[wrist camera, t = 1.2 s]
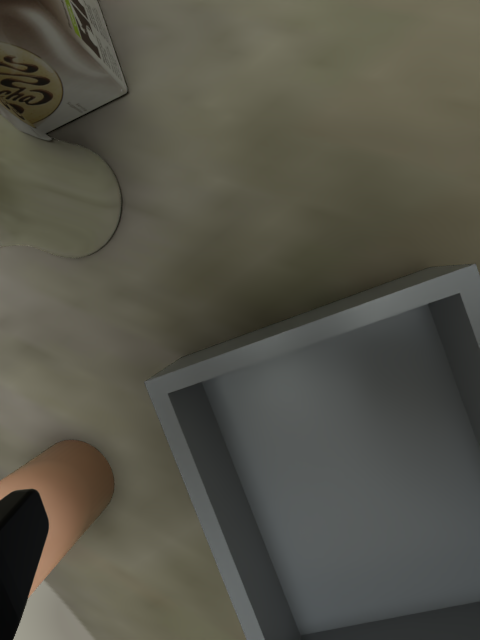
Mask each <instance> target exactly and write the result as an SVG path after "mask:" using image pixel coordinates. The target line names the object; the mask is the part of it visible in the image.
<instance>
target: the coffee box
mask: <svg viewBox="0 0 480 640" xmlns="http://www.w3.org/2000/svg"><path fill="white" fill-rule="evenodd" d="M126 93H127V86H126V83H125V80H124V77H123V74H122V71H121V68H120V65H119V62H118V60H117V57H116V53H115V50H114V47H113V44H112V42H111V39H110V36H109V33H108V30H107V27H106V24H105V21H104V18H103V15H102V12H101V9H100V7H99V4H98V1H97V0H0V96H1V97H2V98H3V99H4V100H5V101H7V102H8V103H9V104H10V105H11V106H12V107H13V108H14V109H16V110H17V111H18V112H19V113H20V114H21V115H22V116H23V117H24V118H26V119H27V120H28V121H29V122H30V123H31V124H33V125H34V126H35V127H36V128H37V129H39V130H40V131H42V132H43V133H45V134H46V133H48V132H50V131H52V130H54V129H56V128H58V127H60V126H62V125H64V124H66V123H68V122H70V121H72V120H74V119H76V118H78V117H80V116H82V115H84V114H86V113H88V112H90V111H92V110H94V109H96V108H98V107H100V106H102V105H104V104H106V103H108V102H110V101H112V100H114V99H116V98H118V97H120V96H122V95H124V94H126Z"/></svg>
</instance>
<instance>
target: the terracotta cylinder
mask: <svg viewBox="0 0 480 640" xmlns="http://www.w3.org/2000/svg"><path fill="white" fill-rule="evenodd" d="M23 489H36V490H37V491H38V492H39V494H40V496H41V499H42V502H43V505H44V508H45V511H46V513H47V516H48V520H49V531H48V535H47V539H46V542H45V545H44V548H43V551H42V555H41V558H40V561H39V564H38V567H37V571H36V574H35V577H34V580H33V583H32V587H31V590H30V593H29V596H30V595H31V594H32V593H33V592H34V591H35V589H36V588H37V587H38V586H39V585H40V584H41V582H42V581H43V580H44V579H45V578H46V577H47V575H48V574H49V573H50V572H51V571H52V570H53V568H54V567H55V566H56V565H57V564H58V563H59V561H60V560H61V559H62V558H63V557H64V556H65V554H66V553H67V552H68V551H69V550H70V549H71V547H72V546H73V545H74V544H75V543H76V542H77V541H78V539H79V538H80V537H81V536H82V535H83V534H84V532H85V531H86V530H87V529H88V528H89V527H90V525H91V524H92V523H93V522H94V521H95V520H96V518H97V517H98V516H99V515H100V514H101V513H102V511H103V510H104V509H105V508H106V507H107V505H108V504H109V502H110V500H111V498H112V495H113V491H114V477H113V473H112V470H111V467H110V465H109V463H108V462H107V460H106V459H105V457H104V456H103V455H102V454H101V453H100V452H99V451H98V450H97V449H96V448H94V447H93V446H91V445H89V444H87V443H85V442H82V441H77V440H65V441H61V442H58V443H56V444H54V445H53V446H51V447H50V448H48V449H47V450H45V451H44V452H42V453H41V454H39V455H38V456H36V457H35V458H33V459H32V460H30V461H29V462H27V463H26V464H24V465H23V466H21V467H20V468H19V469H17V470H16V471H14V472H13V473H11V474H10V475H8V476H7V477H5V478H4V479H2V480H1V481H0V500H1V499H2V498H4V497H5V496H7V495H8V494H9V493H11V492H13V491H15V490H23ZM29 596H28V598H29Z"/></svg>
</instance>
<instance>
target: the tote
mask: <svg viewBox="0 0 480 640" xmlns="http://www.w3.org/2000/svg"><path fill="white" fill-rule="evenodd" d="M144 383H145V386H146V388H147V391H148V393H149V396H150V398H151V401H152V403H153V406H154V408H155V411H156V413H157V416H158V418H159V421H160V423H161V426H162V428H163V431H164V433H165V436H166V438H167V441H168V443H169V446H170V448H171V451H172V453H173V456H174V458H175V461H176V463H177V466H178V469H179V471H180V474H181V476H182V479H183V481H184V484H185V486H186V489H187V491H188V494H189V496H190V499H191V501H192V504H193V506H194V509H195V511H196V514H197V516H198V519H199V521H200V524H201V526H202V529H203V531H204V534H205V536H206V539H207V541H208V544H209V546H210V549H211V551H212V554H213V556H214V559H215V561H216V564H217V566H218V569H219V571H220V574H221V576H222V579H223V581H224V584H225V586H226V589H227V591H228V594H229V596H230V599H231V601H232V604H233V606H234V609H235V612H236V614H237V617H238V619H239V622H240V624H241V627H242V629H243V632H244V634H245V637H246V639H247V640H480V275H479V272H478V269H477V266H476V264H465V265H452V266H439V267H429V268H426V269H424V270H421V271H418V272H415V273H413V274H410V275H407V276H404V277H402V278H399V279H396V280H393V281H391V282H388V283H385V284H382V285H380V286H377V287H374V288H371V289H369V290H366V291H363V292H360V293H358V294H355V295H352V296H349V297H347V298H344V299H341V300H338V301H336V302H333V303H330V304H327V305H325V306H322V307H319V308H316V309H314V310H311V311H308V312H305V313H303V314H300V315H297V316H294V317H292V318H289V319H286V320H283V321H281V322H278V323H275V324H272V325H270V326H267V327H264V328H261V329H258V330H256V331H253V332H250V333H247V334H245V335H242V336H239V337H236V338H234V339H231V340H228V341H225V342H223V343H220V344H217V345H214V346H212V347H209V348H206V349H203V350H201V351H198V352H195V353H192V354H190V355H187V356H184V357H181V358H180V359H178V360H177V361H175V362H174V363H172V364H171V365H169V366H168V367H166V368H165V369H163V370H162V371H160V372H159V373H157V374H156V375H154V376H152V377H151V378H149V379H148V380H146V381H145V382H144Z"/></svg>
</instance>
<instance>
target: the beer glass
mask: <svg viewBox="0 0 480 640" xmlns="http://www.w3.org/2000/svg"><path fill="white" fill-rule="evenodd" d="M120 214H121V193H120V188H119V185H118V182H117V179H116V177H115V175H114V173H113V171H112V170H111V168H110V167H109V166H108V164H107V163H106V162H105V161H104V160H103V159H102V158H101V157H100V156H98V155H97V154H96V153H94V152H93V151H91V150H89V149H87V148H85V147H82V146H79V145H76V144H73V143H69V142H65V141H61V140H57V139H54V138H52V137H50V136H48V135H46V134H45V133H43V132H42V131H40V130H39V129H37V128H36V127H35V126H34V125H33V124H31V123H30V122H29V121H28V120H27V119H26V118H24V117H23V116H22V115H21V114H20V113H19V112H18V111H17V110H16V109H14V108H13V107H12V106H11V105H10V104H9V103H8V102H7V101H5V100H4V99H3V98H2V97H1V96H0V247H6V246H31V247H34V248H37V249H39V250H42V251H44V252H47V253H50V254H53V255H56V256H60V257H64V258H80V257H84V256H87V255H90V254H92V253H94V252H96V251H98V250H99V249H100V248H102V247H103V246H104V245H105V244H106V243H107V242H108V241H109V239H110V238H111V237H112V235H113V233H114V232H115V230H116V228H117V225H118V222H119V219H120Z"/></svg>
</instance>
